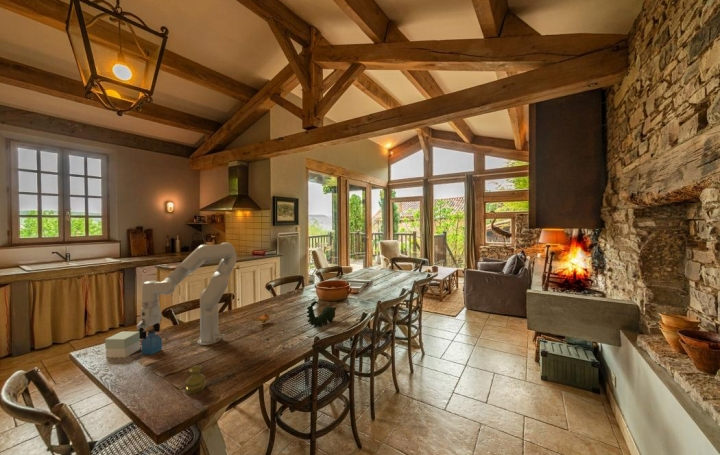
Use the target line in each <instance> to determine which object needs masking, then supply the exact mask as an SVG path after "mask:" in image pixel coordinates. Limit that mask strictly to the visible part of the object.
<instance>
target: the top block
mask: <svg viewBox="0 0 720 455" xmlns="http://www.w3.org/2000/svg"><path fill="white" fill-rule="evenodd" d="M139 335H140V332H139V331H120V332H117V333H116V334H113V335H112V336H111V335H110V336H109V337H107V338H105V340H104V342H105V344H104V345H105V350H106V349H125V348H127V347H129V346H131V345H132V344H134V343H136V342H138V341H140V342H141V339H140V338H139Z"/></svg>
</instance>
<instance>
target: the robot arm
mask: <svg viewBox="0 0 720 455" xmlns="http://www.w3.org/2000/svg"><path fill="white" fill-rule="evenodd" d="M237 257H238V256H237V252H236V249H235V247H234V245H233V244H232V243H231V242H228V241H227V242H225V241H224V242H222V243H220V244H219V243H218V244H210V245H209V244H205V243H204V244H200V245H198V246H197V247H196V248H195V249H194V250H193V251H192V252H191V253H190V254H189V255H188V256H187V257H186V258H185V259H184V260H182V262H181V263H180V264H179V265H178V266H177V267H175V269H173V271H171V273H170V274H168V275H167V276H166V277H164V279H163V280H162V281H158V280H147V281H144V282H143V283H142V285H141V286H142V288H141V293H142V294H141V295H142V296H141V310H140V316H139V322H138V323H137V324H136V329H137V332H140V335H139V338H140V340H144V339H146V337H147V331H146V330H147V329H148V328H149V327H153V328H152V329H155V332H156V333H159V332H160V330H161V329H160V328H161V326H160V325H161V323H162V320H163V319H162V318H163V316H164V315H163V314H162V309H161V304H160V295H164V296H165V295H166V296H167V295H171V294H173V293H174V292H175V290H176V288H177V286H179V284H181V283H182V281H183V280H184V279H186V278H187V277H188V276H189V275H191V274H193V273H195V272H196V271H197V270H198V269H199V268H200V267H202V265H203V264H204V263H205V262H206V261H214V260H220V261H219V264H218V265H217V267H216V268H215V270H214V272H213V273H212V275H211V277H210V279H209V283H208V285H207V286H206V288H204V289H203V290H201V292H200V294H199V322H200V323H199V327H200V328H199V329H200V331H199V339H197V340H196V342H197V345H199V346H200V345H201V346H208V345H213V344H216V343H218V342H221V340H224V339H225V333H221V331H220V330H219V302H220V300H221V299H222V297H223V295H224V294H225V292H226V289H227V288H228V286H229V283H230V282H229V278H230V276H231V274H232V272H233V269H234V268H235V266H236V263H237Z"/></svg>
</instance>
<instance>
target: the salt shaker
mask: <svg viewBox="0 0 720 455" xmlns="http://www.w3.org/2000/svg"><path fill="white" fill-rule="evenodd" d="M202 369H203V366H202V365H198V364H195V365H193V366H192V367H189V369H188V372H189V373H190V374H191V375H189V377H188V378H186V380H185V383H184V384H185V393H186V394H188V395H195V394H197V393H201V392H202V391H203V390H205V388H206V375H205V374H202V373H201V372H200V371H202Z"/></svg>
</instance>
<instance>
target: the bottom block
mask: <svg viewBox="0 0 720 455" xmlns="http://www.w3.org/2000/svg"><path fill="white" fill-rule="evenodd" d="M140 349H141V340H140V341H138V342H136V343H134V344H132V345H131V346H129V347H127V348H125V349H105V358H106V357H113V358H114V359H115V358H116V357H117V358H119V359H120V357H121V359H123V358H124V359H125V358H127V357H129V356H130V355H132V354H134V353H136V352H137V351H140ZM122 357H123V358H122Z"/></svg>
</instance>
